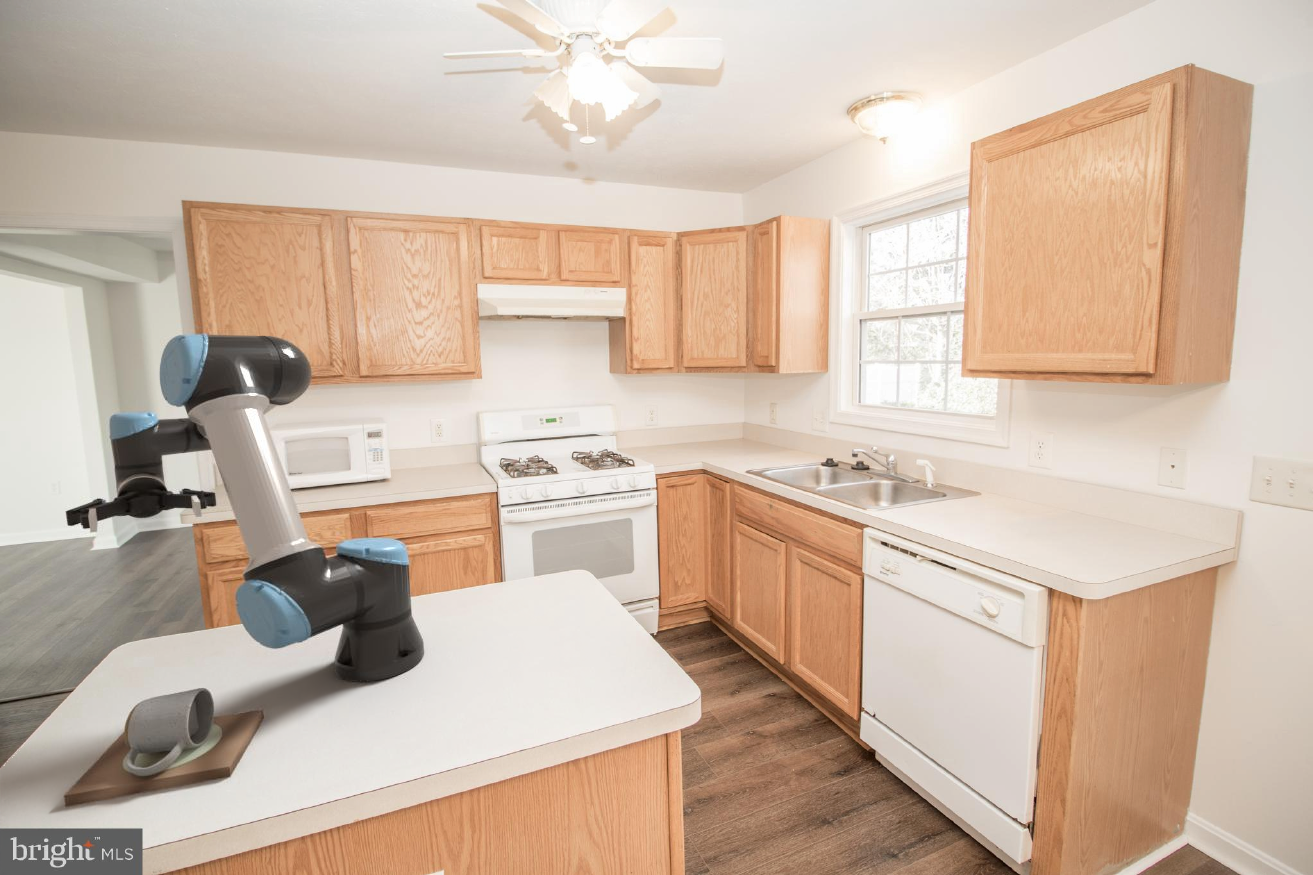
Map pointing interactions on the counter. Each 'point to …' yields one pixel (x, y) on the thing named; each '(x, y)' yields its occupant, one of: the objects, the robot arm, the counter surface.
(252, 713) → the walnut board
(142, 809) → the counter surface
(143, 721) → the speckled gray mug
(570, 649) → the counter surface
